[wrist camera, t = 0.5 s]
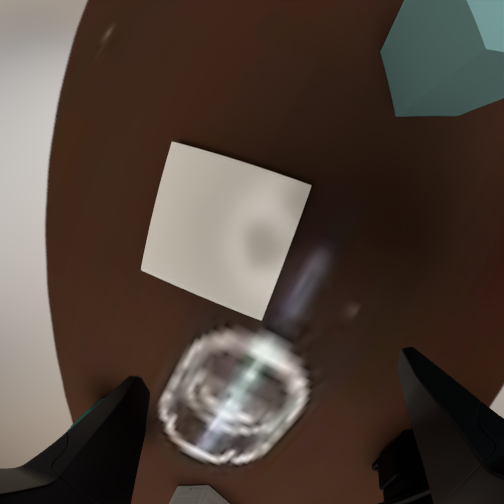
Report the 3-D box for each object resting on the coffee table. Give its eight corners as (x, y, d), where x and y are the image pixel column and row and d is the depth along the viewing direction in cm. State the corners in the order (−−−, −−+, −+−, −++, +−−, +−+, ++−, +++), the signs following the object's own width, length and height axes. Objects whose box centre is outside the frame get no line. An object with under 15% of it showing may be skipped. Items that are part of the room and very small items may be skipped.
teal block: (457, 116, 17) (575, 72, 4) (395, 116, 18) (485, 49, 6) (441, 53, 16) (528, -33, 3) (380, 51, 17) (431, -63, 4)
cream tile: (312, 185, 20) (311, 185, 19) (264, 313, 23) (261, 320, 22) (179, 142, 21) (172, 141, 20) (148, 265, 24) (140, 269, 23)
